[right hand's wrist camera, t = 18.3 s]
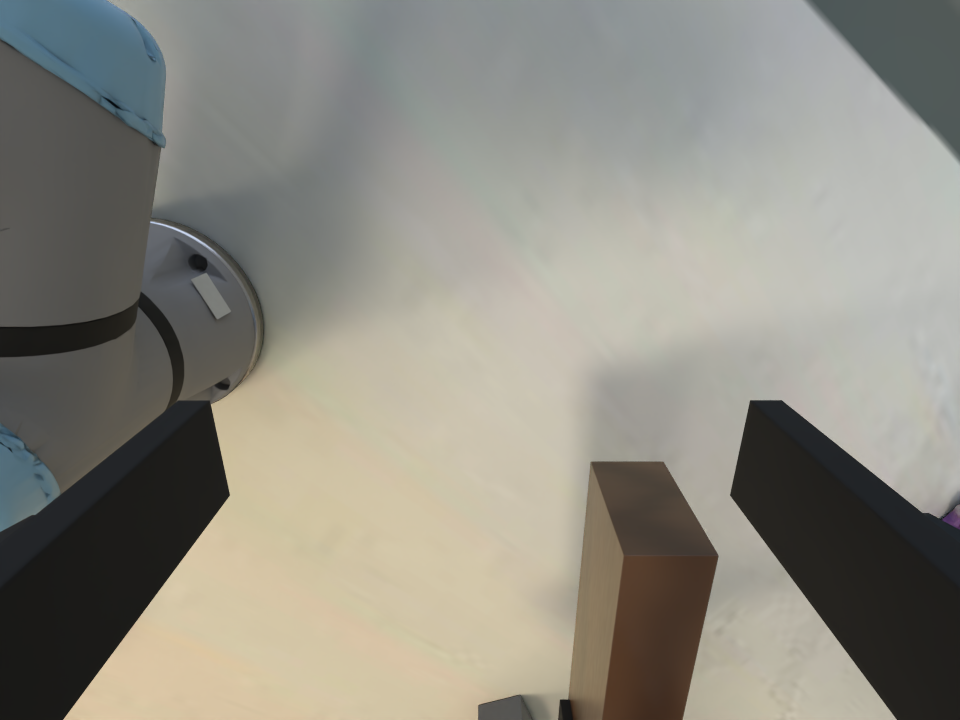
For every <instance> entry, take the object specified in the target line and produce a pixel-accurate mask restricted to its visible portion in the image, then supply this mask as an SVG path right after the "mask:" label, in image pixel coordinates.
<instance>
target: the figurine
mask: <svg viewBox="0 0 960 720" xmlns="http://www.w3.org/2000/svg"><path fill="white" fill-rule="evenodd" d="M942 520H943V521H944V522H946V523H948V524H950V525H952V526H954V527H956V528H958V529H960V504H959V505H957V506H956V507H955V508H954V509H953V510H952V511H951V512H950V513H949V514H948V515H947V516H946V517H944V518H943V519H942Z"/></svg>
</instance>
